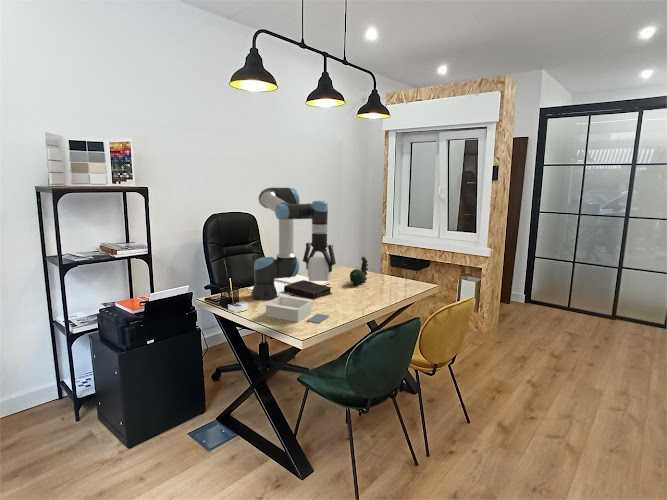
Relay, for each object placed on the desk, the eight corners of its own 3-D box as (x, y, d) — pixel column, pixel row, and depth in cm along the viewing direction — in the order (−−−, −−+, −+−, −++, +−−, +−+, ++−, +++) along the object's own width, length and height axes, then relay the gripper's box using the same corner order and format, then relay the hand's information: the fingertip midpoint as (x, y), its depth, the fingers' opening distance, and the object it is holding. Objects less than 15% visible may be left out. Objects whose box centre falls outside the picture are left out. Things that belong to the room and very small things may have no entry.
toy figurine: (357, 281, 285) (345, 286, 262) (359, 255, 284) (347, 258, 261) (370, 283, 282) (359, 288, 259) (372, 256, 280) (360, 259, 257)
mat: (306, 321, 197) (306, 320, 197) (317, 314, 208) (317, 313, 207) (319, 323, 194) (319, 322, 194) (329, 316, 205) (329, 315, 205)
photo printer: (308, 281, 195) (308, 256, 193) (308, 279, 199) (308, 255, 197) (329, 281, 196) (329, 257, 194) (328, 279, 200) (329, 255, 198)
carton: (263, 317, 201) (263, 304, 199) (282, 307, 218) (282, 295, 217) (295, 323, 193) (295, 310, 192) (313, 312, 210) (313, 299, 209)
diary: (313, 301, 233) (313, 292, 232) (283, 293, 248) (283, 285, 247) (333, 294, 247) (333, 286, 247) (303, 287, 263) (303, 279, 262)
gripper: (295, 231, 194) (295, 276, 198) (337, 235, 185) (336, 281, 189) (303, 230, 201) (302, 273, 205) (343, 233, 192) (342, 278, 196)
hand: (318, 277), depth 197 cm, fingers closed on photo printer, 10 cm apart
